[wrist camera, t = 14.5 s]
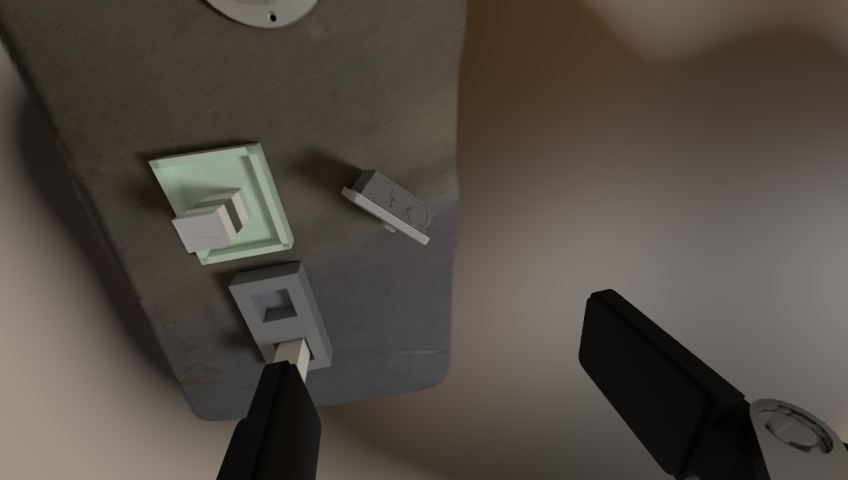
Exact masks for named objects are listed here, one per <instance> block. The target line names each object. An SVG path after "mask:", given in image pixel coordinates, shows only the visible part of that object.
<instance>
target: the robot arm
mask: <svg viewBox="0 0 848 480" xmlns="http://www.w3.org/2000/svg"><path fill="white" fill-rule="evenodd" d="M207 1H208V2H209V3H210V4H211V5H212V6H213V7H214V8H216V9H217V10H219V11H220V12H222V13H223V14H225V15H226V16H228V17H230V18H232V19H234V20H236V21H238V22H240V23H243V24H246V25H248V26H251V27H255V28H262V29H280V28H284V27H287V26H290V25H293V24H295V23H297V22H298V21H300V20H302V19H303V18H304V17H305V16H307V15H308V14H309V13H310V12H311V11H312V10H313V8H314V7H315V5H316V4H317V2H318V1H319V0H207ZM273 15H274V16H275V17H276V21H274V22H273V21H272V20H271V17H272V16H273ZM579 361H580V364H581V366H582V367H583V369H584V370H585V371H586V372H587V374H588V375H589V376H590V378H591V379H592V380H593V382H594V383H595V384H596V385H597V387H598V388H599V389H600V390H601V392H602V393H603V394H604V396H605V397H606V398H607V399H608V401H609V402H610V403H611V404H612V406H613V407H614V408H615V409H616V411H617V412H618V413H619V415H620V416H621V417H622V418H623V420H624V421H625V422H626V424H627V425H628V426H629V427H630V428H631V430H632V431H633V432H634V434H635V435H636V436H637V438H638V439H639V440H640V441H641V443H642V444H643V445H644V446H645V448H646V449H647V450H648V452H649V453H650V454H651V455H652V457H653V458H654V459H655V460H656V462H657V463H658V464H659V466H660V467H661V468H662V469H663V470H664V471H665V472H666V473H667V474H669V475H673V476H674V477H675V479H676V480H848V444H847V443H844V442H842V441H841V439H840V438H839V437H838V435H837V434H836V433H835V431H833V430H832V429H831V428H830V427H829V426H828V425H827V424H826V423H825V422H823V421H822V420H820V419H819V418H817V417H816V416H814V415H813V414H811V413H810V412H808V411H806V410H804V409H802V408H800V407H798V406H796V405H793V404H790V403H787V402H784V401H780V400H775V399H758V400H756V401H753V402H752V404H749V403H748V402H747V401H746V400H745V399H744V397H745V395H743V394H742V393H741V392H740V391H738V390H737V389H736V388H735V387H733V386H732V385H731V384H730V383H729V382H727V381H726V380H725V379H723V378H722V377H721V376H720V375H719V374H717V373H716V372H715V371H714V370H712V369H711V368H710V367H709V366H707V365H706V364H705V363H704V362H703V361H701V360H700V359H699V358H698V357H696V356H695V355H694V354H693V353H691V352H690V351H689V350H688V349H686V348H685V347H684V346H682V345H681V344H680V343H679V342H678V341H677V340H675V339H674V338H673V337H671V336H670V335H669V334H668V333H667V332H665V331H664V330H663V329H662V328H660V327H659V326H658V325H657V324H655V323H654V322H653V321H652V320H650V319H649V318H648V317H647V316H646V315H644V314H643V313H642V312H641V311H639V310H638V309H637V308H636V307H634V306H633V305H632V304H631V303H629V302H628V301H627V300H626V299H624V298H623V297H622V296H621V295H619V294H618V293H617V292H616V291H614V290H612V289H607V290H603V291H598V292H594V293H592V294H591V296H590V298H588V299H587V303H586V310H585V316H584V322H583V329H582V336H581V343H580V349H579ZM320 436H321V422H320V418H319V416H318V414H317V411H316V409H315V407H314V404H313V402H312V400H311V397H310V395H309V393H308V391H307V388H306V386H305V384H304V381H303V379H302V377H301V375H300V372H299V370H298V368H297V366H296V364H295V363H294V364H290V363H289V361H288V360H284V361H280V362H275V363H271V364H267V365H266V366H265V367H264V369H263V372H262V375H261V378H260V380H259V383H258V386H257V389H256V392H255V395H254V398H253V400H252V403H251V406H250V409H249V412H248V415H247V418H244V419H242V420H240V422H239V423H238V424H237V426H236V428H235V430H234V433H233V436H232V438H231V441H230V444H229V447H228V449H227V452H226V455H225V457H224V460H223V463H222V465H221V468H220V471H219V473H218V476H217V479H216V480H315V477H316V469H317V461H318V452H319V444H320Z"/></svg>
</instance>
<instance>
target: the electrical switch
mask: <svg viewBox="0 0 848 480" xmlns="http://www.w3.org/2000/svg"><path fill="white" fill-rule="evenodd" d="M375 171H376V170H363V172H362V174H361V175H360V177H359V178H358V179H356V182H355V183H354V185H353V187H352V188H351V190H350V189H348V188H346V187H345V186H344V188H343V190H342V192H341V193H342V194H343V195H344V196H345V197H346V198H348V199H349V200H350V201H352V202H353V203H355V204H357V205H358V206H360V207H361V208H363V209H364V210H365V211H367V212H369V213H370V214H372V215H374V216H375V217H377V218H379V219H380V221H381V224H382V225H383V226H384V227H385V228H387V229H388V230H390V231H391V232H395V231H396V229H397V230H399V231H401V232H402V233H404V234H406V235H407V236H409V237H410V238H412V239H414V240H415V241H417V242H420V243H422V244H424V245H426V243H427V242H428V241H429V238H428V237H427V236H425V235H424V234H425V232H426V230H427V229H428V227H429V226H430V222H431V220H432V219H433V217H434V215H435V214H436V212H437V211H436V210H434V209H433V208H431V207H430V206H428V205H427V204H425V203H424V202H422V201H421V200H420V199H418V198H417V197H415V196H414V195H412V194H411V193H409V192H408V191H406V190H405V189H403V188H402V187H401V186H399V185H398V184H396V183H395V182H393V181H392V180H390V179H389V178H387V177H386V176H384V175H383V174H382V173H380V172H379V171H376V172H375ZM374 173H375V174H374ZM373 174H374V175H373ZM383 180H384V181H383ZM423 206H424V207H423ZM412 207H413V208H412Z"/></svg>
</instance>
